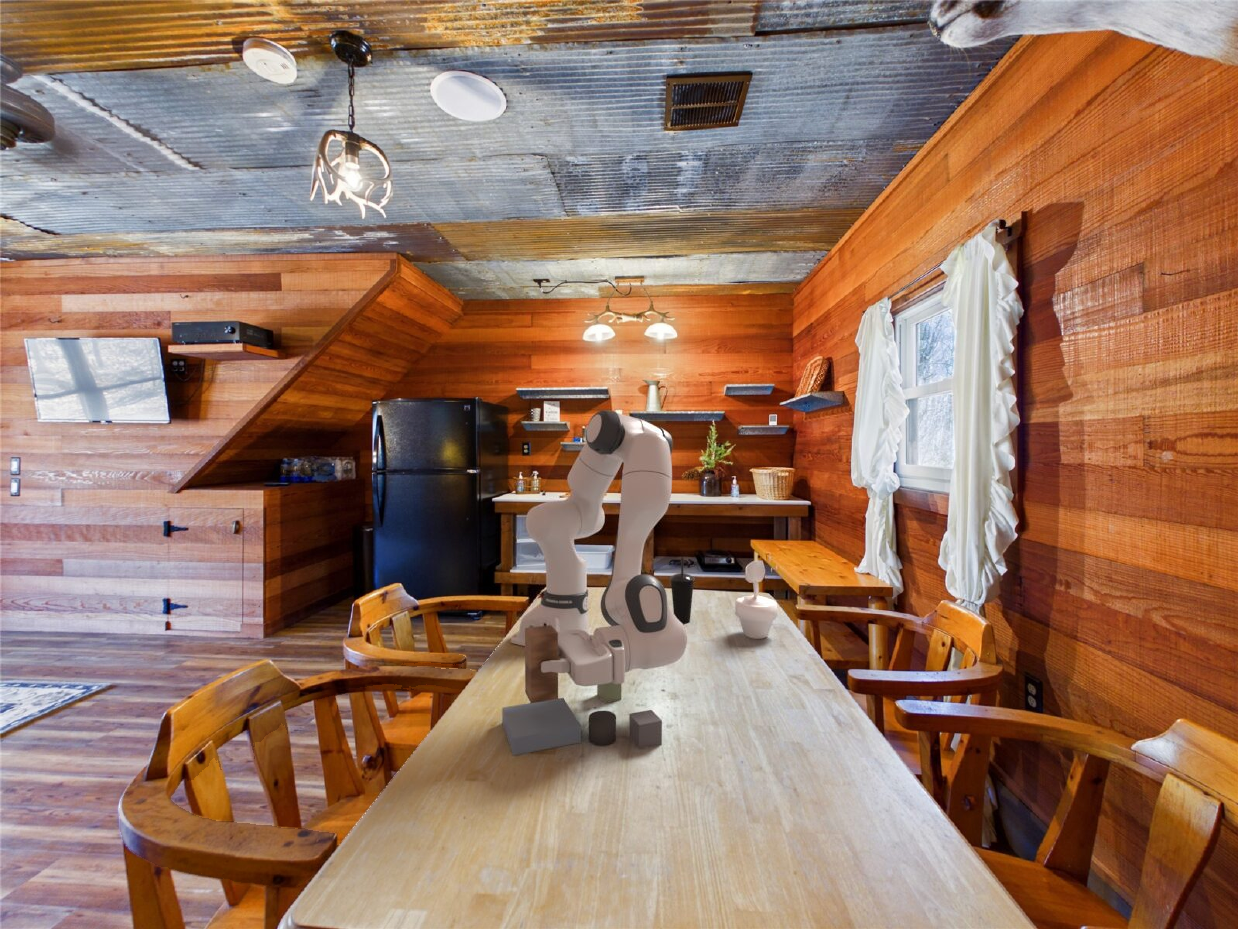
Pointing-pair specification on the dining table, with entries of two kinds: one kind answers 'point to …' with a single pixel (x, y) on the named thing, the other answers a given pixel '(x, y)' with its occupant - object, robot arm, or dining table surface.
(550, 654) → the walnut block
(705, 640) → the dining table surface
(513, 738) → the slate riser
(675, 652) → the robot arm
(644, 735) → the mauve grey cube
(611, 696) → the olive block
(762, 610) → the potted plant
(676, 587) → the drinking cup
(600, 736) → the charcoal cylinder
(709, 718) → the dining table surface
